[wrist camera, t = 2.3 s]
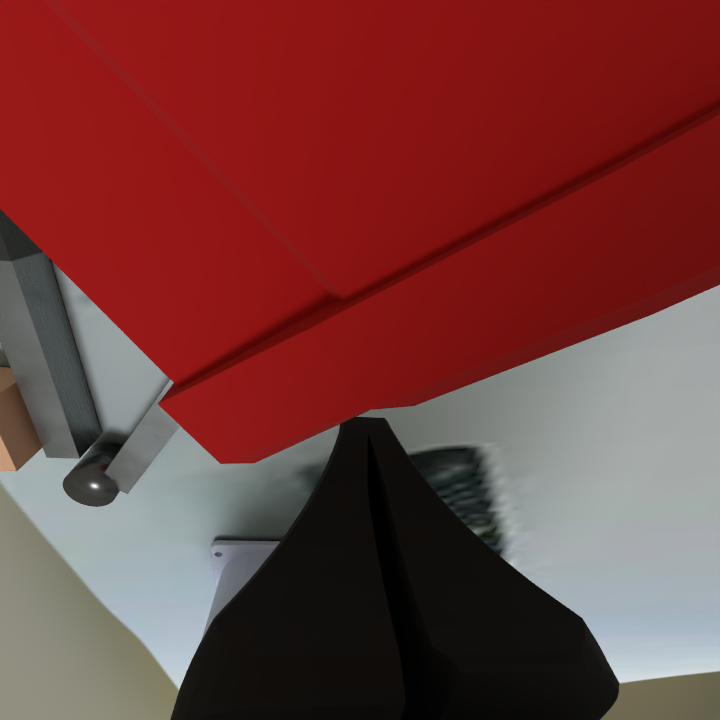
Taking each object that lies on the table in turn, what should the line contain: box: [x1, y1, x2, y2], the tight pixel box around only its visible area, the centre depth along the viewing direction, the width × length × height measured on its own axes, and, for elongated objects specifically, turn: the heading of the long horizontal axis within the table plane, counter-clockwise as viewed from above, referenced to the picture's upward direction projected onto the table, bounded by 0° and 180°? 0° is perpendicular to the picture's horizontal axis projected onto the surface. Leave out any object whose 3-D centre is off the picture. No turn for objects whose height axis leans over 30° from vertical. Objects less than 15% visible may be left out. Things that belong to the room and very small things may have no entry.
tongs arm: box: [63, 379, 180, 507], centre depth 18 cm, size 16×3×2 cm, turn 140°
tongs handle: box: [0, 209, 102, 459], centre depth 17 cm, size 13×2×2 cm, turn 175°
